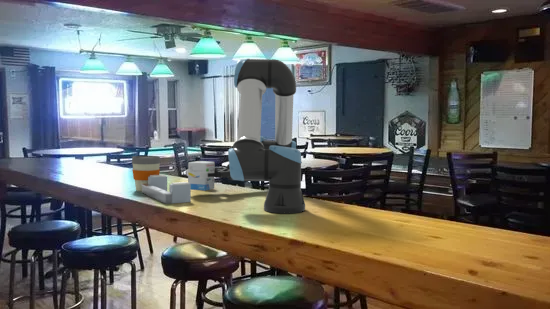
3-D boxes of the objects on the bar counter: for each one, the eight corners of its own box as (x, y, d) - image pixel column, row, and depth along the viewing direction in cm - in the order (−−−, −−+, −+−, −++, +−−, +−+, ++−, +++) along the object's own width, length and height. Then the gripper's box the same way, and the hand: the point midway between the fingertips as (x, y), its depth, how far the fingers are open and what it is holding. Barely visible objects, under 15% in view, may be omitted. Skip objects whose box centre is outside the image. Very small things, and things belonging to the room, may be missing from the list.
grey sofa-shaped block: (190, 201, 200) (190, 182, 199) (172, 203, 196) (172, 183, 195) (164, 191, 225) (164, 174, 225) (148, 192, 221) (148, 175, 221)
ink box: (205, 190, 210) (205, 162, 210) (187, 189, 213) (187, 162, 213) (214, 188, 218) (215, 161, 218) (197, 187, 221) (197, 160, 221)
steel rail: (171, 203, 196) (171, 193, 195) (164, 204, 194) (164, 193, 194) (147, 192, 221) (147, 183, 221) (141, 193, 220) (141, 183, 219)
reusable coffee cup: (150, 192, 221) (150, 158, 220) (126, 191, 225) (125, 157, 224) (165, 189, 233) (165, 156, 232) (142, 187, 237) (142, 155, 236)
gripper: (252, 182, 217) (206, 185, 204) (223, 177, 236) (180, 179, 223) (252, 165, 216) (207, 167, 203) (223, 161, 235) (180, 162, 222)
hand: (193, 173), depth 213 cm, fingers closed on ink box, 11 cm apart
